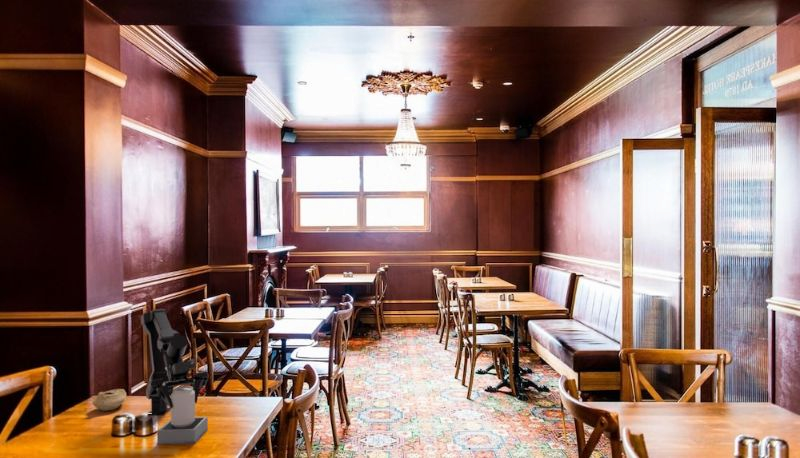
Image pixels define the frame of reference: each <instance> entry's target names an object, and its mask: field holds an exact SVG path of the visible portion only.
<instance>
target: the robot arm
mask: <svg viewBox="0 0 800 458" xmlns="http://www.w3.org/2000/svg"><path fill="white" fill-rule="evenodd" d="M140 324H141V325H142V329H143V331H144V332H145V334H146V335H147V336H148V342H149V343H148V344H149V351H150V352H149V354H150V360H151V361H150V362H151V370H152V371H151V372H152V373H151V374H150V377H149V379H148V383H147V386H146V389H145V397H146V399H148V400H150V409H151V410H150V411H148V413H152V414H157V415H158V416H160V415H166V414H167V413H168V412H169V411H171V408H172V407H173V406H172V401H171V394H172V392H173V389H174V387H181V386H186V385H190V384H192V387H193V390H194V391H195V404H197V402H198V397H199V396H198V395H199V389H201V388H202V387H205V386H206V385H207V383H208V380H209V378H210V375H209V373H208V372H207V371H206V370H204V371H196V372H195V374H194V376H191V377H189V375H190V371H191V370H194V369H196V363H195V359H194V358H190V359H187V360H186V361H184V360H183V356H184V355H185V352H186V349H187V347H188V343H189V341H188V338H187V337H186V336H184V335H181V333H180V332H178V331H177V330H174V329H173V328H172V325H171V323H170V321H169V319H168V317H167V312H166V309H164V308H160V309H152V310H150V311H148V312H144V313H143V314H141V316H140ZM164 352H165V353H164ZM157 415H156V416H157Z"/></svg>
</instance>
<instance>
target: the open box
mask: <svg viewBox="0 0 800 458" xmlns="http://www.w3.org/2000/svg"><path fill="white" fill-rule="evenodd" d="M208 418H209V417H208V416H195V421H194V422H193V423H192V424H191V425H189V426H185V427H175V426H174V425H172V424H171V418H170V419H169V420H167V422H165V423H164V424H163V425H162V426H161V427H160V428H159V429H158V430H157V434H156V435H157V441H156V443H157V445H158V446H160V445H161V446H162V445H163V446H164V445H193V444H196V443H197V442H199V440H200V439H201V438H202V437H203V436H204V435H205V433H206V432H207V431H208V429H209V427H208V423H209V422H208V420H209V419H208Z"/></svg>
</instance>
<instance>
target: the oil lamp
mask: <svg viewBox="0 0 800 458" xmlns="http://www.w3.org/2000/svg"><path fill="white" fill-rule="evenodd" d="M126 399H127V392H126V390H125V389H124V388H116V389H111V390H107V391H100V392H98V394H97V396H96V397H95V398H94V400H93V401H92V403H91V404H92V405H93V406H94V407H95V408H96V409H98V410H99V411H103V412H105V411H112V410H116V409H118V408H119V407H120V406H121V405H122V404H123V403H124V402H125V400H126Z"/></svg>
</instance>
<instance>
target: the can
mask: <svg viewBox="0 0 800 458" xmlns="http://www.w3.org/2000/svg"><path fill="white" fill-rule="evenodd" d="M170 398H171V401H172V406H173V407H172V408H171V409H170V419H171V424H172V425H174V426H175V427H185V426H189V425H191V424H192V423H193V422H194V421H195V417H196V403H195V391H194V390H193V386H191V385H180V386H176V387H175V388H174V387H173V392H172V394H171V395H170Z"/></svg>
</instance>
